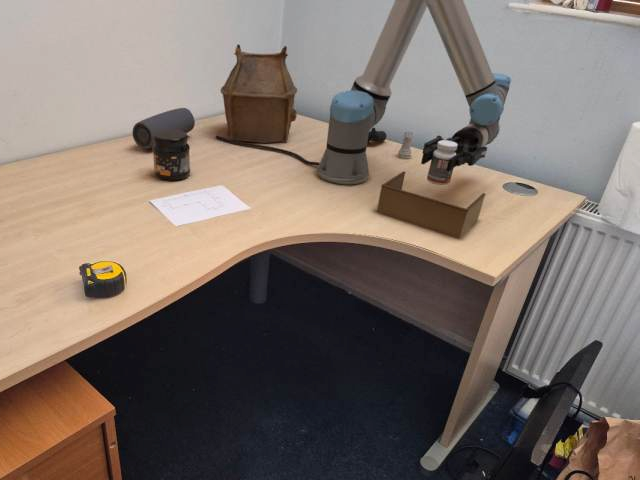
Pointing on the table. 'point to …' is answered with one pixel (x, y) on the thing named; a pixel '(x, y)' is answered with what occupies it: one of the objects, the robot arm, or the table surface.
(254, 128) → the hut
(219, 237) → the table surface
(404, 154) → the rook chess piece
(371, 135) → the gaming controller
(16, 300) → the table surface
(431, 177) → the pill bottle
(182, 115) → the bluetooth speaker
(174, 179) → the supplement container
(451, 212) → the brown u-shaped partition wall
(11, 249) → the table surface
